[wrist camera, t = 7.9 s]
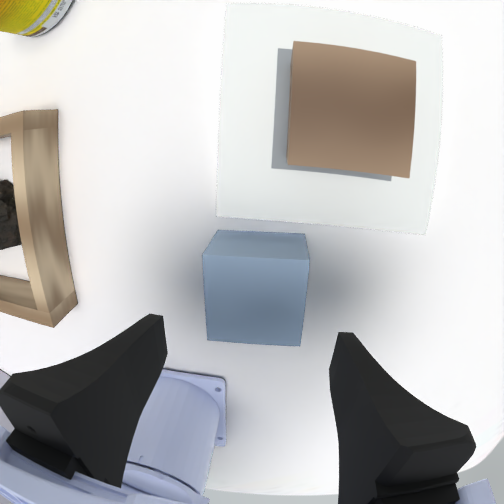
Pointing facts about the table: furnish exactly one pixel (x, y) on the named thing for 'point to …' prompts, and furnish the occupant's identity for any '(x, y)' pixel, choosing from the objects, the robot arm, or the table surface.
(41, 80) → the table surface
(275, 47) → the board
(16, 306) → the plank frame
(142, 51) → the table surface
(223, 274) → the blue block
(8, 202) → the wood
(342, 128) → the walnut block
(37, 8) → the supplement bottle
